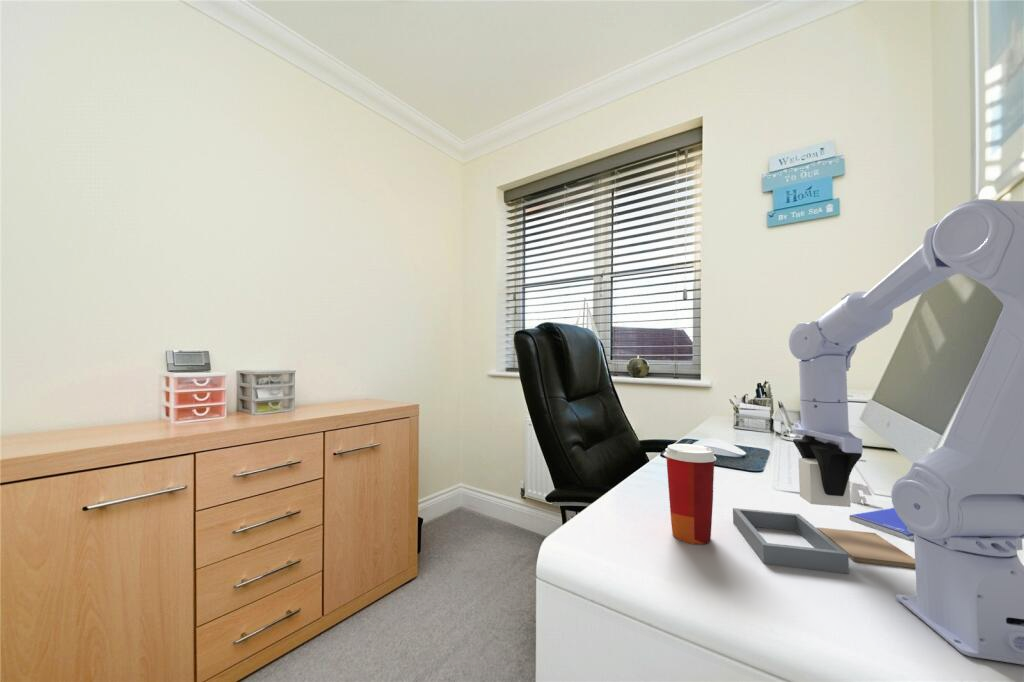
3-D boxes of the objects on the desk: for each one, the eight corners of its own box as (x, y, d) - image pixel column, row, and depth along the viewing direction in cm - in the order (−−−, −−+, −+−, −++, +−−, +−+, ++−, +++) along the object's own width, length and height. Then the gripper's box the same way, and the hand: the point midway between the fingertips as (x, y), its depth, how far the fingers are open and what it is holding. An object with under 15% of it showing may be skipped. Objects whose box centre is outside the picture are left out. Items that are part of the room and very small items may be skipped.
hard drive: (907, 533, 61) (954, 523, 65) (849, 513, 69) (894, 506, 73) (908, 543, 61) (955, 533, 65) (849, 522, 69) (894, 514, 73)
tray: (849, 573, 51) (848, 554, 51) (763, 563, 54) (763, 544, 54) (799, 529, 65) (799, 514, 65) (733, 522, 67) (732, 508, 67)
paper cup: (712, 529, 64) (710, 444, 65) (723, 551, 57) (721, 455, 58) (662, 523, 67) (660, 441, 67) (667, 544, 59) (665, 451, 60)
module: (850, 507, 57) (848, 465, 57) (811, 504, 58) (809, 463, 58) (836, 498, 60) (834, 459, 60) (799, 496, 61) (798, 457, 62)
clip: (873, 504, 76) (872, 485, 76) (870, 506, 75) (869, 486, 75) (841, 497, 80) (840, 478, 81) (837, 498, 79) (837, 480, 80)
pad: (923, 569, 52) (923, 564, 52) (853, 561, 54) (853, 556, 54) (875, 536, 62) (874, 532, 62) (816, 531, 64) (816, 527, 64)
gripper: (774, 396, 68) (776, 474, 67) (818, 405, 54) (821, 505, 53) (820, 397, 66) (823, 478, 65) (879, 406, 52) (883, 509, 51)
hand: (826, 490), depth 59 cm, fingers closed on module, 3 cm apart
